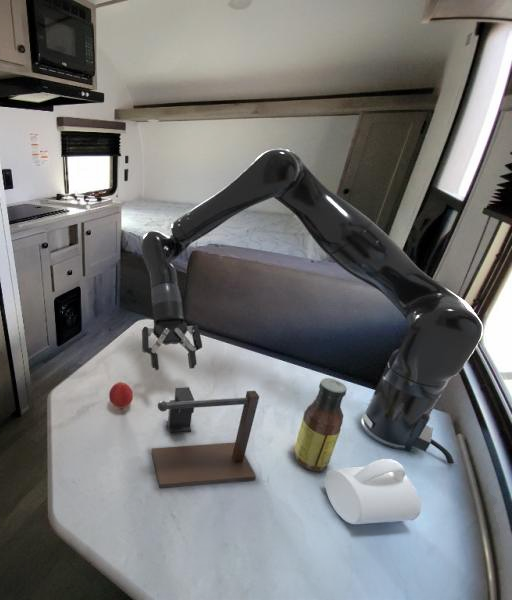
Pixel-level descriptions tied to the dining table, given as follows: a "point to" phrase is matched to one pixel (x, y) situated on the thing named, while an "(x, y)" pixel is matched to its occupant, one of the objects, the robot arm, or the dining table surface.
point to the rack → (207, 450)
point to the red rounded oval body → (121, 395)
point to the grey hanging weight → (180, 412)
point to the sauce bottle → (321, 426)
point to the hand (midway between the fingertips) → (174, 369)
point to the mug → (373, 493)
